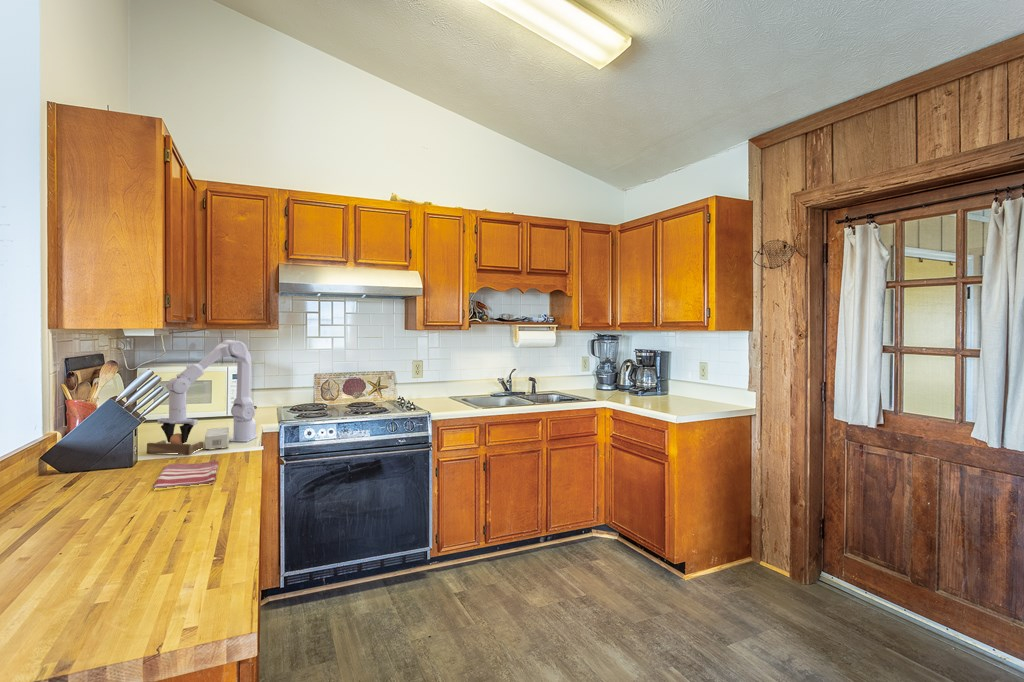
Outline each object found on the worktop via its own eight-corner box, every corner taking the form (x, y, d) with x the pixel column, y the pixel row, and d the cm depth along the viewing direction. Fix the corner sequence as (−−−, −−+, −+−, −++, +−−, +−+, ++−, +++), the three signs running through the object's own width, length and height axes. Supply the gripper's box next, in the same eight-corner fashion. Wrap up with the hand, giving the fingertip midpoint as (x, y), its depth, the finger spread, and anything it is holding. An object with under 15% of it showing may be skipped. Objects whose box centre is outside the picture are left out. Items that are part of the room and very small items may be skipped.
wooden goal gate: (163, 447, 203) (163, 437, 203) (204, 449, 203) (204, 439, 203) (146, 453, 194) (146, 443, 193) (189, 455, 194) (189, 444, 193)
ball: (175, 444, 202) (175, 431, 201) (187, 444, 202) (187, 432, 201) (166, 447, 197) (166, 434, 196) (179, 447, 197) (179, 435, 196)
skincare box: (204, 436, 201) (206, 428, 213) (205, 451, 201) (206, 442, 214) (229, 434, 205) (228, 426, 218) (229, 448, 205) (228, 439, 218)
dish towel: (219, 466, 183) (219, 459, 183) (214, 486, 162) (215, 478, 162) (163, 471, 175) (163, 463, 175) (151, 493, 154) (151, 484, 154)
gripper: (152, 409, 194) (151, 444, 195) (189, 410, 194) (189, 445, 195) (164, 406, 201) (164, 439, 202) (200, 407, 201) (200, 441, 202)
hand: (177, 442), depth 199 cm, fingers closed on ball, 5 cm apart
